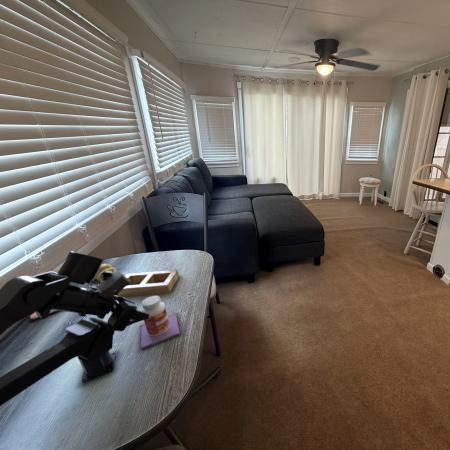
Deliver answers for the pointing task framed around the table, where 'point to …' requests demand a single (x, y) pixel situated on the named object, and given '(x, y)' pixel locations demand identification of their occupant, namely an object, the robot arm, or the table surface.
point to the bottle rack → (150, 283)
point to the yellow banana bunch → (103, 268)
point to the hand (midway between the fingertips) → (141, 310)
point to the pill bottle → (155, 316)
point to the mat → (172, 331)
